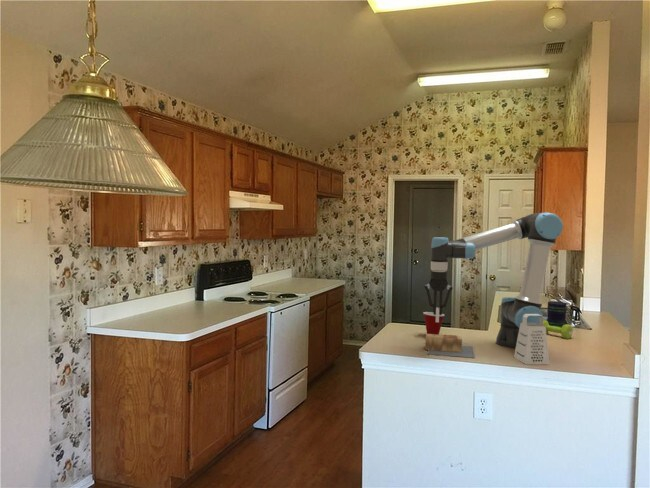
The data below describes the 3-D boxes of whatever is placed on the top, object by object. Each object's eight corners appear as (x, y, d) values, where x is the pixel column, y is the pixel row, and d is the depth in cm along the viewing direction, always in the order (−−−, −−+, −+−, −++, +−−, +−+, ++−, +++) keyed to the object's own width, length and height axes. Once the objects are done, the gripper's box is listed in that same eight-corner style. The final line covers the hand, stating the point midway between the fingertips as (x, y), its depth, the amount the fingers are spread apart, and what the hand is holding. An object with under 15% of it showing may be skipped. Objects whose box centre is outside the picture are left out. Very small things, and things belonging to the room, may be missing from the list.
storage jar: (542, 327, 279) (543, 301, 278) (554, 326, 283) (555, 300, 282) (557, 331, 270) (558, 304, 269) (569, 330, 274) (571, 303, 273)
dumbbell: (536, 334, 264) (536, 320, 263) (543, 332, 269) (543, 319, 268) (566, 340, 251) (567, 326, 250) (574, 338, 256) (574, 324, 255)
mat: (472, 346, 233) (472, 346, 233) (475, 358, 213) (475, 357, 213) (429, 343, 237) (429, 343, 237) (428, 354, 218) (428, 353, 218)
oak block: (425, 346, 231) (460, 349, 227) (425, 349, 225) (461, 352, 221) (426, 333, 230) (461, 335, 227) (425, 335, 225) (461, 338, 221)
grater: (549, 364, 207) (551, 317, 206) (525, 364, 206) (527, 317, 205) (536, 357, 217) (538, 312, 216) (513, 357, 216) (515, 312, 215)
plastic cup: (448, 336, 252) (449, 313, 251) (433, 339, 246) (434, 315, 245) (432, 332, 261) (433, 310, 260) (418, 335, 255) (418, 312, 254)
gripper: (453, 270, 227) (451, 321, 228) (424, 269, 230) (423, 319, 231) (453, 272, 220) (452, 324, 221) (424, 271, 223) (422, 322, 224)
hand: (437, 321), depth 226 cm, fingers closed
